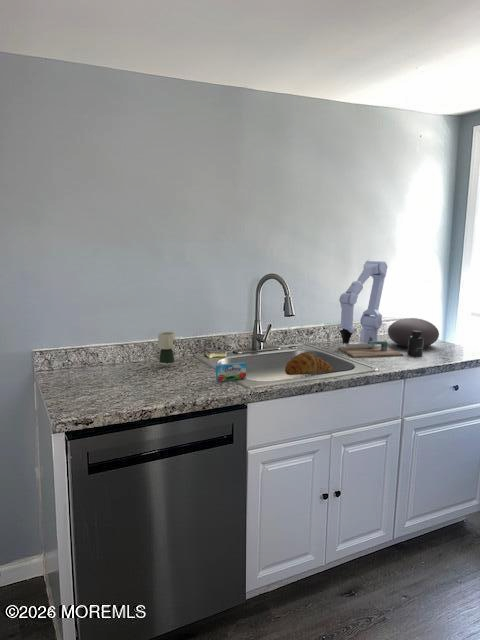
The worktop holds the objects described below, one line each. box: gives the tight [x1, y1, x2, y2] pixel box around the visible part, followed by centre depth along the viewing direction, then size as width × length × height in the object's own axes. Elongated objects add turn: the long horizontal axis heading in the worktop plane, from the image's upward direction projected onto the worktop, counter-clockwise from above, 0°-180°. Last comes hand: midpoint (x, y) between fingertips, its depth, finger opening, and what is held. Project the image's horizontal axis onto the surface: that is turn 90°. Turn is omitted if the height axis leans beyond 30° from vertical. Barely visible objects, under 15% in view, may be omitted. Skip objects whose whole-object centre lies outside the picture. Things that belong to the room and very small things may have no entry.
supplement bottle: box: [406, 330, 424, 358], centre depth 220 cm, size 7×7×12 cm
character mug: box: [157, 331, 176, 365], centre depth 199 cm, size 11×7×13 cm, turn 19°
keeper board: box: [338, 340, 404, 359], centre depth 226 cm, size 18×25×5 cm
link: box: [343, 337, 374, 349], centre depth 230 cm, size 15×4×5 cm, turn 100°
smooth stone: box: [387, 317, 440, 348], centre depth 240 cm, size 25×25×15 cm
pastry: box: [284, 352, 334, 376], centre depth 190 cm, size 21×13×8 cm, turn 112°
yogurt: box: [215, 361, 247, 383], centre depth 177 cm, size 12×2×6 cm, turn 114°
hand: (345, 344), depth 232 cm, fingers closed
